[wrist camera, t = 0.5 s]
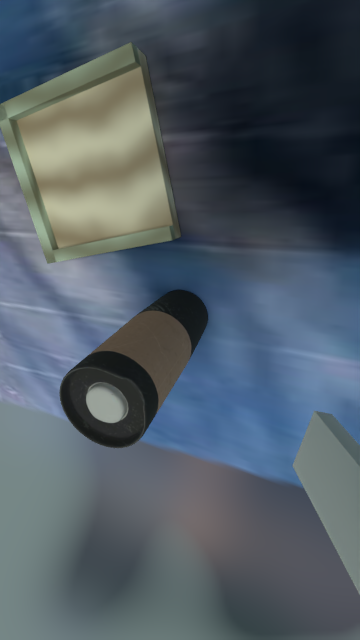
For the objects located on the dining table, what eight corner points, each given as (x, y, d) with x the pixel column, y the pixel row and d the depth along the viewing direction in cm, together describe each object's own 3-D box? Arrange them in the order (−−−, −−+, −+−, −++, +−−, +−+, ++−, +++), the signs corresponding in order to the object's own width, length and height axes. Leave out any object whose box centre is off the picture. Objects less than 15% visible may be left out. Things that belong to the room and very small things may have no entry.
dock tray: (15, 113, 37) (-7, 107, 34) (145, 56, 30) (131, 42, 28) (63, 258, 43) (47, 263, 40) (181, 236, 36) (172, 240, 33)
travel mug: (153, 333, 43) (59, 430, 25) (158, 281, 39) (55, 352, 22) (204, 347, 41) (143, 463, 23) (215, 295, 38) (152, 383, 20)
